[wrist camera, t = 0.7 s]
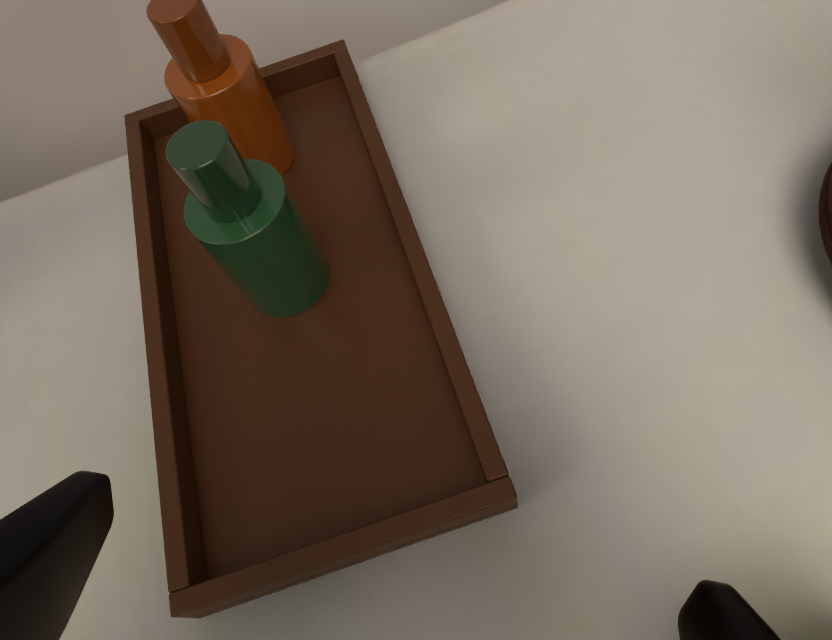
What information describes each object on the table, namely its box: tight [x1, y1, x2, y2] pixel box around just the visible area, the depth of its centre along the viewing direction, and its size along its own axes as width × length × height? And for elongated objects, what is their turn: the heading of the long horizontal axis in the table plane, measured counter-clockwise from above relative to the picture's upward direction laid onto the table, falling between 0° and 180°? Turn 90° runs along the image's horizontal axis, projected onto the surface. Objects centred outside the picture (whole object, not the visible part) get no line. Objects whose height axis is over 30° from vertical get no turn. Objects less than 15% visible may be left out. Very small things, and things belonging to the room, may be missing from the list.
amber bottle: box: [147, 0, 295, 176], centre depth 28 cm, size 4×4×9 cm
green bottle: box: [166, 120, 329, 318], centre depth 24 cm, size 4×4×9 cm
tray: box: [125, 40, 517, 618], centre depth 28 cm, size 26×13×2 cm, turn 17°
